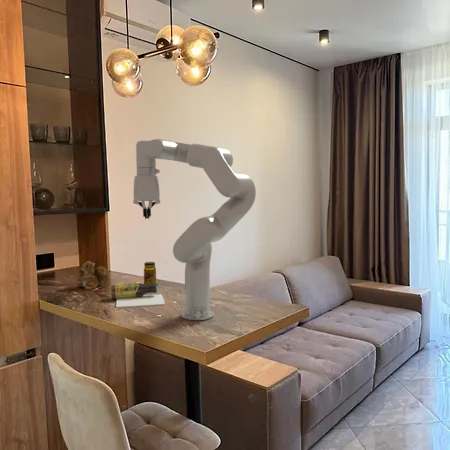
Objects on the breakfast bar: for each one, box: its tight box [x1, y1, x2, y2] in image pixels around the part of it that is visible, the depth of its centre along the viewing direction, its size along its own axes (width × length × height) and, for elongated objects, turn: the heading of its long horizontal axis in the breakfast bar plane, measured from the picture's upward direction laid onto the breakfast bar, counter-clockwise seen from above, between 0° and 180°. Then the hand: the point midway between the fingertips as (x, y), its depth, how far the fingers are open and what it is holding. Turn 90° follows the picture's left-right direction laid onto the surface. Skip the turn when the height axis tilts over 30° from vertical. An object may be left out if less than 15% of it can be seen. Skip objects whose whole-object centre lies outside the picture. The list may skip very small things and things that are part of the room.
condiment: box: [143, 261, 160, 287], centre depth 213 cm, size 7×8×12 cm
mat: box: [115, 293, 166, 309], centre depth 184 cm, size 16×20×1 cm
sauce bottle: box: [110, 282, 158, 300], centre depth 190 cm, size 7×6×20 cm
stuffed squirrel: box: [76, 260, 109, 290], centre depth 211 cm, size 10×14×13 cm
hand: (147, 218), depth 170 cm, fingers closed
